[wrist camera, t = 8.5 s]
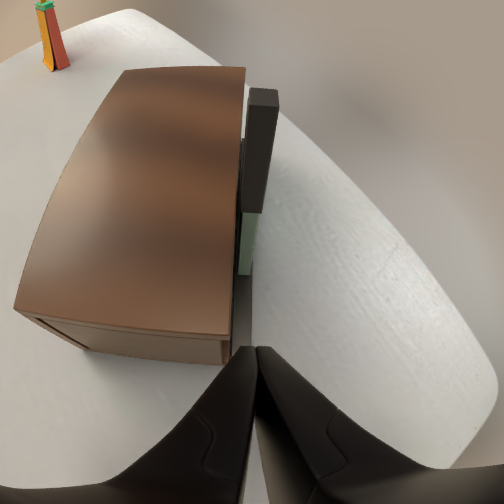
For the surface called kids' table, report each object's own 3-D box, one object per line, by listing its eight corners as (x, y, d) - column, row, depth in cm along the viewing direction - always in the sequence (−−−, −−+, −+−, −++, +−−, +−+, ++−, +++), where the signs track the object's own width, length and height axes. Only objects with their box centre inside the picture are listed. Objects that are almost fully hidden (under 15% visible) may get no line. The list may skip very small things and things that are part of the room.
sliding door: (250, 277, 20) (279, 106, 9) (235, 276, 20) (248, 104, 9) (253, 167, 25) (270, 20, 14) (241, 166, 25) (253, 19, 14)
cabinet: (250, 366, 18) (265, 337, 11) (81, 349, 17) (12, 308, 10) (254, 141, 28) (262, 68, 21) (138, 139, 27) (124, 70, 20)
